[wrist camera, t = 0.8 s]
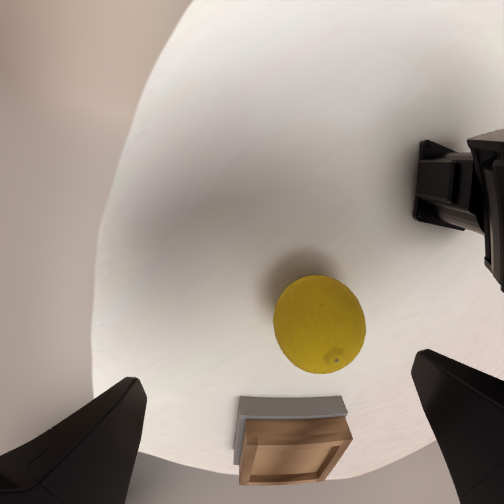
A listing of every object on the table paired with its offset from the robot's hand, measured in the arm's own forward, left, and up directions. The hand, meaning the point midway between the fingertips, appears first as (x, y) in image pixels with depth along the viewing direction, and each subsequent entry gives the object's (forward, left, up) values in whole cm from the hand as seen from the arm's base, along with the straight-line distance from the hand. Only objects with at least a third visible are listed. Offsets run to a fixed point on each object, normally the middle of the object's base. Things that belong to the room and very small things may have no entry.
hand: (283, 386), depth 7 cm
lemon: (-4, +2, -12) cm, 13 cm away
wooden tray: (-5, +18, -10) cm, 21 cm away
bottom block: (-5, +18, -13) cm, 23 cm away
